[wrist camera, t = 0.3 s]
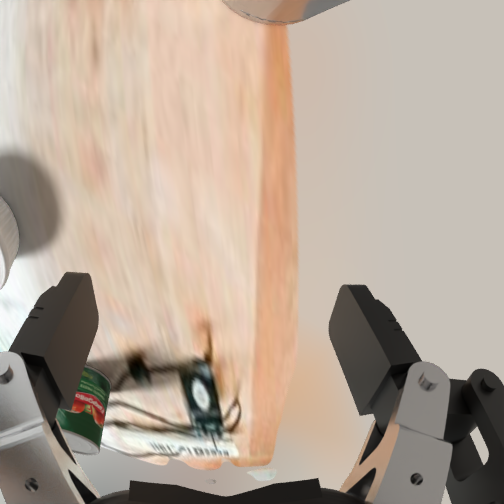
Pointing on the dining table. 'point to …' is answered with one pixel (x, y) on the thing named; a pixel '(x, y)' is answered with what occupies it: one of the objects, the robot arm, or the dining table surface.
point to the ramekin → (7, 240)
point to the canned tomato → (86, 413)
